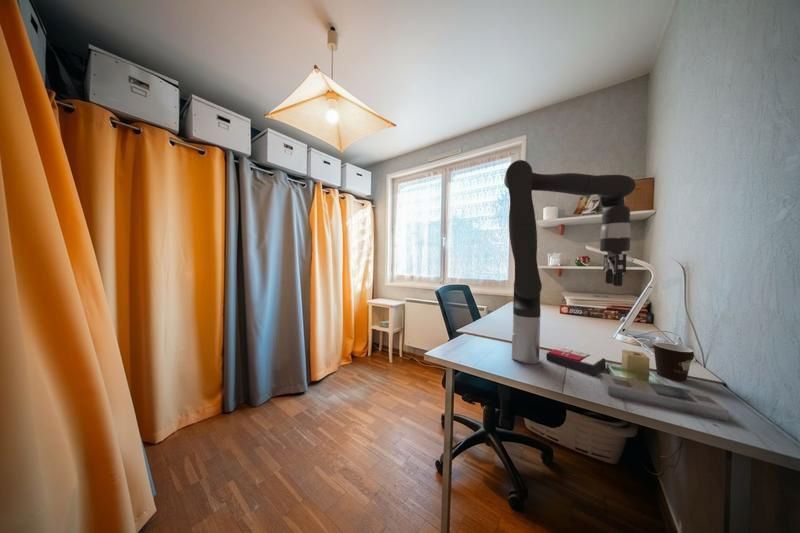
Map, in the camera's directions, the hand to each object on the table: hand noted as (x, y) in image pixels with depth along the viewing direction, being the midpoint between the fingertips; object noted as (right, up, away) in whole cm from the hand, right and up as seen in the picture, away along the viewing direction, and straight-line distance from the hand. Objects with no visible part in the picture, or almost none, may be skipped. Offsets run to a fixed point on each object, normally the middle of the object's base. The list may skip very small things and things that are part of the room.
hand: (613, 284), depth 80 cm
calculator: (-9, -31, +6) cm, 32 cm away
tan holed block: (+2, -30, -5) cm, 30 cm away
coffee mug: (+18, -31, -3) cm, 36 cm away
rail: (-2, -31, -15) cm, 34 cm away
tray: (+2, -30, -5) cm, 31 cm away
